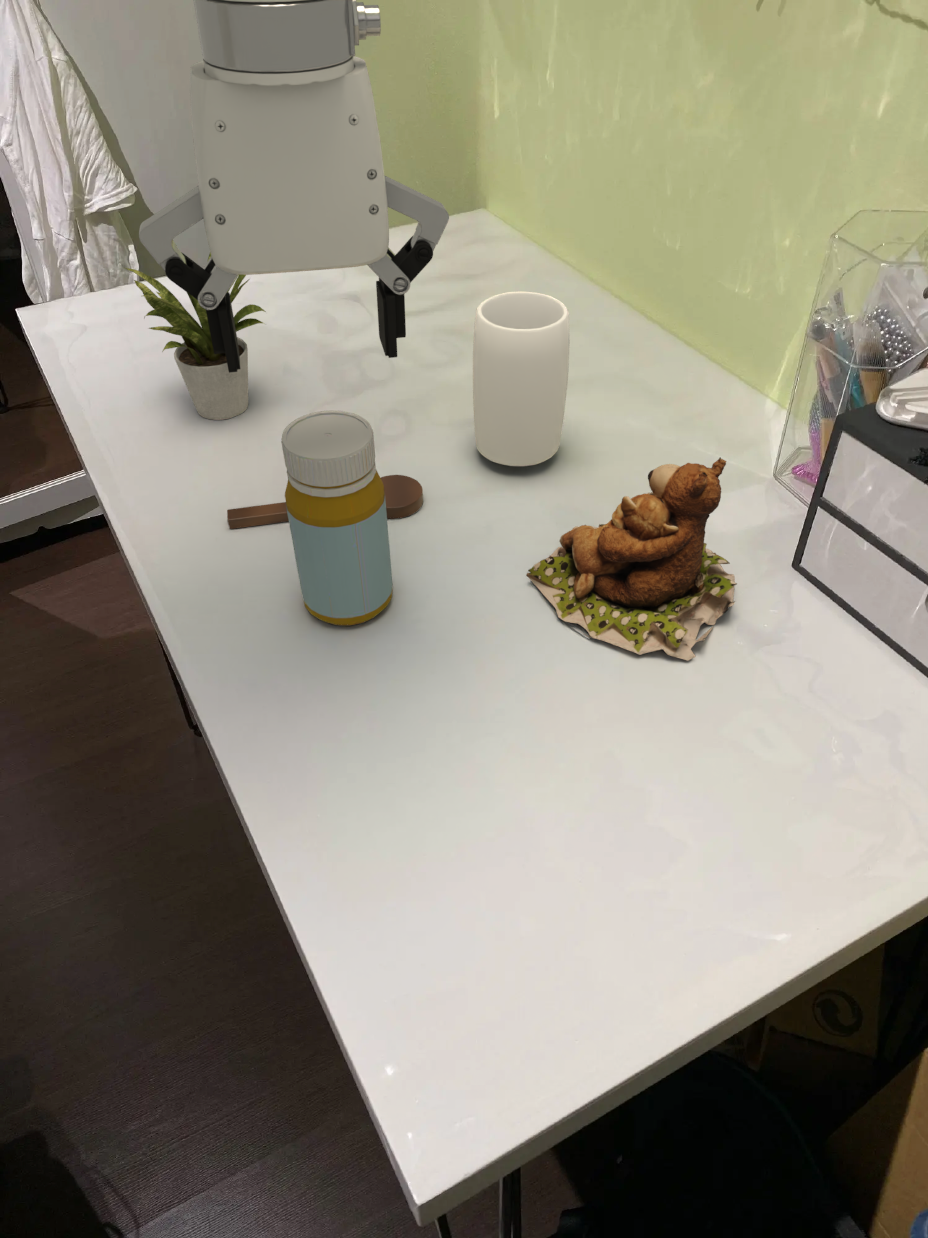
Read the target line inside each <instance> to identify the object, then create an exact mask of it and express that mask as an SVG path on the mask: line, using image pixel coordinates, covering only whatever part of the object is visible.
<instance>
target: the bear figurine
mask: <svg viewBox="0 0 928 1238" xmlns="http://www.w3.org/2000/svg"><path fill="white" fill-rule="evenodd" d="M726 466H727V460H724V459H723V458H721V457H719V458H718V459H717V460H716V461H715V462H713V463H712V465H711V467H707V466H706V465H704V464H700V463H696V462H695V463H692V462H686V463H685V464H683V465H677V464H673V463H665V464H661V465H659V466H658V467H655V468H653V469H652V470H650V471H649V472H648V475H647V480H648V485H649V486H648V487H649V488H650V492H648V493H642V494H637V495H635V496H633V497H630V496H626V495H625V496H623V497H622V498H621V502H620V503H619V504H618V505H617V506H616V509H615V510H614V511H613V512H612V515H611V518H610V520H609V521H608V522H606V523H599V524H598V526H594V525H587V524H584V525H583V524H582V525H579V526H578V525H577V526H574V527H572V529H570V530H569V531H567V532H566V533H564V534H562V535H561V536H560V538H559V544H560V546H558V547H557V548H556V549H555V550H554V551H553V552H552V553H551V554H549V556H548V557H546V558H543V559H541V560H540V561H538V562H537V563H535V564H534V565H533V566H532V567H531V568H529V569H528V572H526V574H525V577H527V579H528V580H529V581H530V582H531V583H532V584H533V585H534V586H535V587H536V588H537V589H538V590H539V592H541V594H542V595H543V596H544V597H545V598H546V599H547V601H548V602H549V603H550V604H551V605H552V606H553V608H555V612H556V615H557V618H559V619H560V620H562V621H563V622H565V623H566V624H568V625H569V623H571V624H578V625H579V626H580V627H582V628H583V629H584V630H586V632H588V635H589V636H588V635H586V634H585V633H583V632H581V631H580V630H579V629H577V631H579V632H580V633H581V634H583V635H584V636H585V637H587V638H589V639H596V640H599V641H603V642H606V643H608V644H611V645H613V646H616V647H619V648H621V649H624V650H627V651H630V652H632V653H635V654H637V655H639V656H641V655H644V654H647V653H648V654H649V653H651V652H657V651H661V650H663V651H664V652H665V654H666V655H668V656H671V657H673V658H677V659H681V660H684V661H687V662H688V661H690V660H692V659H694V658H697V656H696V655H695V654H694V651H692V648H693V647H694V646H695V644H696V643H699V642H704V641H705V640H706V638H708V635H709V634H710V633H711V631H712V629H713V628H714V626H715V625H716V623H717V620H718V619H719V618H720V617H722V616H723V615H724V614H725V613H727V612H728V610H729V608H730V607H733V606H734V605H735V603H736V600H734V596H735V586H736V585H738V583H737V582H736V577H735V574H733V573H728V572H726V571H725V569H724V568H723V566H722V565H730V564H731V563H730V562H729V561H728V560H727V559H726V558H724V557H723V556H720V555H719V554H717V553H716V552H714V551H713V550H712V549H709V548H707V545H708V543H707V542H705V537H706V526H707V522H708V519H709V518H710V517H711V516H710V515H711V514H712V513H714V511H715V510H716V509H717V508H718V507H719V505H720V502H721V498H722V487H721V483H720V482H721V481H720V480H721V479H719V477H720V476H721V475H723V471H724V469H725V467H726ZM704 623H705V624H706V625H709V626H712V627H710V628H709V629H708V630H707V631H705V633H703V634H702V635H701V636H700V637H699V638H697V637H698V634H699V631H700V629H701V626H702V625H703V624H704Z"/></svg>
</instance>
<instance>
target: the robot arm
mask: <svg viewBox="0 0 928 1238" xmlns="http://www.w3.org/2000/svg"><path fill="white" fill-rule="evenodd" d="M379 6H380V5H379V4H365V3H364V1H357V0H193V7H194V12H195V19H196V25H197V31H198V38H199V43H200V50H201V57H202V60H201V61H198V62H195V63H193V64H192V65H190V70H189V71H190V72H189V100H190V120H191V121H190V122H191V129H192V130H191V133H192V143H193V151H194V158H195V168H196V169H195V170H196V177H197V184H198V185H197V186H195V187H193V189H190V190H189V191H188V192H186V193H185V194H183V195H181V196H180V197H179V198H177V199H176V200H173V201H172V202H171V203H169V204H168V205H166V206H165V207H163V208H161V209H160V210H158V211H157V212H156V213H154V214H152V215H151V216H150V217H148V218H146V219H145V220H144V221H142V222H141V223H140V226H139V231H138V239H139V241H140V243H141V244H142V245H143V247H144V248H145V249H146V251H147V252H148V253H149V255H151V257H152V258H153V259H154V260H155V261H156V264H158V266H160V267H161V268H162V270H163V271H164V273H165V276H166V277H167V279H168V280H170V281H171V282H172V283H173V284H175V285H176V286H177V287H179V288H180V289H181V290H183V291H184V292H186V294H187V293H189V294H190V295H191V296H193V297H194V298H195V299H197V300H198V302H199V304H200V306H201V307H202V308H204V309H206V314H207V319H208V324H209V329H210V334H211V340H212V345H213V350H214V354H222V353H225V354H226V360H227V365H228V371H229V373H230V372H237V370H238V369H240V356H239V346H238V340H237V337H238V335H237V332H236V328H235V323H234V312H233V311H234V310H233V306H232V303H231V299H230V293H231V292H230V290H229V288H230V287H231V285H232V284H233V282H234V281H236V280H235V279H236V278H238V277H237V276H238V275H239V274H240V275H246V276H251V275H268V274H269V275H270V274H283V273H285V274H286V273H297V272H298V273H299V272H311V271H313V272H314V271H323V270H337V269H346V268H347V269H349V268H358V267H364V266H368V268H369V269H370V270H371V271H372V272H373V273H374V274H375V275H376V276H377V277H378V280H376V281H375V288H376V289H375V291H376V307H377V322H378V323H377V324H378V337H379V341H380V344H381V347H382V350H383V353H384V356H385V357H388V359H393V358H398V339H402V338H406V336H407V331H406V330H407V329H406V328H407V327H406V326H407V325H406V324H407V323H406V302H405V301H406V299H405V294H407V293H408V292H409V290H410V288H411V283H412V282H413V281H414V279H416V278H417V276H418V275H419V274H420V273H421V272H422V271H423V270H424V268H426V266H427V265H428V264H429V263H430V262H431V261H432V259H433V256H434V250H435V248H436V247H437V245H438V244H439V242H440V240H441V238H442V235H443V234H444V231H445V229H446V228H447V225H448V223H449V220H450V215H449V212H448V211H447V208H446V207H445V205H444V204H443V203H442V202H440V201H438V200H437V199H434V198H432V197H430V196H428V195H426V194H424V193H422V192H420V191H418V190H416V189H414V188H411V187H409V186H407V185H406V184H403V183H401V182H399V181H397V180H395V179H393V178H391V177H389V176H386V174H385V167H384V157H383V149H382V141H381V140H382V139H381V135H380V134H381V133H380V130H379V124H378V119H377V118H378V117H377V111H376V103H375V98H374V93H373V88H372V83H371V78H370V74H369V70H368V66H367V63H366V60H365V59H364V58H361V57H359V56H356V46H360V41H365V40H367V37H380V36H381V31H382V26H381V24H382V23H381V12H380V7H379ZM389 209H390V210H393V211H395V212H398V213H399V214H402V215H404V216H406V217H408V218H410V219H412V220H414V221H416V222H417V225H416V227H415V231H414V234H413V235H412V236H410V238H409V239H408V240H407V241H406V242H405V244H403V246H402V247H401V248H400V249H399V250H398V251H397V253H394V251H393V250H392V249H391V248H390V247H389V244H390V221H389ZM201 220H203V225H204V231H205V236H206V241H207V245H208V248H209V253H210V252H211V257H210V259H209V260H208V259H207V261H208V262H207V261H206V263H205V265H204V266H203V267H201V266H200V265H199V264H198V263H196V262H195V261H194V260H192V259H191V258H190V257H189V256H188V255H186V254H185V253H183V252H182V251H181V250H180V249H179V247H178V246H177V244H176V243H175V241H174V239H175V238H176V237H177V236H178V235H180V234H182V233H183V232H185V231H186V230H188V229H189V228H191V227H192V226H194V225H196V224H197V223H199V222H200V221H201ZM234 283H235V282H234ZM233 285H234V284H233ZM233 285H232V286H233ZM231 288H232V287H231ZM231 288H230V289H231ZM228 290H229V292H227V291H228Z"/></svg>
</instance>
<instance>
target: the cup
mask: <svg viewBox="0 0 928 1238" xmlns="http://www.w3.org/2000/svg"><path fill="white" fill-rule="evenodd" d="M473 327H474V328H473V329H474V330H473V344H472V399H473V400H472V404H473V405H472V407H473V422H474V424H473V425H474V437H475V446H476V449H477V451H478V452H479V453H480V454H481V455H482V456H483V457H484V458H486V459H487V460H489V461H490V462H493V463H496V464H499V465H504V466H509V467H528V466H535V465H538V464H541V463H544V462H546V461H547V460H550V459H551V458H553V456H554V455H556V453H557V452H558V451H559V448H560V445H561V439H562V432H563V426H564V420H565V419H564V417H565V412H566V411H565V410H566V402H567V392H568V383H569V382H568V381H569V373H570V372H569V371H570V348H571V347H570V343H571V339H570V336H571V334H570V313H569V309H568V308H567V306H566V304H564V303H563V302H562V301H561V300H559V299H557V298H556V297H553V296H552V295H549V294H545V293H541V292H540V293H539V292H534V291H507V292H503V293H498V294H495V295H492V296H489V297H488V298H486V299H485V300H483V301H481V303H480V304H479V305H478V306H477V308H476V309H475V318H474V326H473Z"/></svg>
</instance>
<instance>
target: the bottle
mask: <svg viewBox="0 0 928 1238" xmlns="http://www.w3.org/2000/svg"><path fill="white" fill-rule="evenodd" d="M373 430H374V429H373V428H372V425H371V423H370V422H369V421H368V420H367V419H366V418H364V417H363V416H361V415H359V414H356V413H353V412H349V411H344V410H320V411H314V412H310V413H307V414H304V415H302V416H300V417H298V418H296V419H294V420H293V421H291V422H290V423H288V424H287V426H285V428H284V429H283V431H282V433H281V440H280V442H281V449H282V453H283V459H284V465H285V468H286V475H287V483H286V486H285V492H284V499H285V502H286V508H287V514H288V519H289V521H288V524H289V530H290V535H291V542H292V546H293V554H294V558H295V563H296V571H297V575H298V582H299V587H300V592H301V596H302V601H303V604H304V607H305V609H306V610H307V611H308V612H309V613H310V615H312V616H313V617H315V618H316V619H319V620H320V621H322V622H325V623H327V624H331V625H335V626H345V627H346V626H347V627H350V626H356V625H360V624H363V623H366V622H368V621H371V620H373V619H375V617H376V616H378V615H379V614H380V613H381V612H382V611H384V610H385V609H386V608H387V607H388V606H389V604H390V603H391V600H392V598H393V575H392V573H393V572H392V563H391V550H390V540H389V526H388V518H387V513H386V501H385V492H384V485H383V482H382V480H381V476H380V474H379V472H378V470H377V466H376V465H377V464H376V447H375V436H374V431H373Z"/></svg>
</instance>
